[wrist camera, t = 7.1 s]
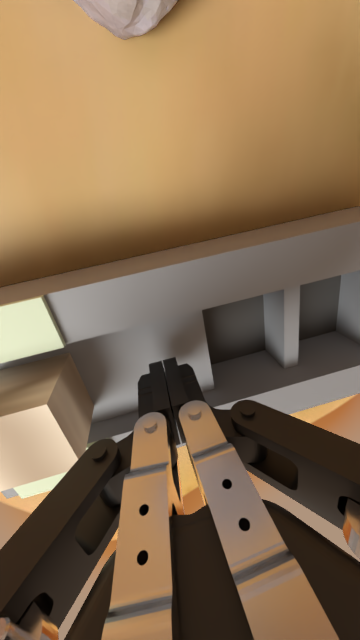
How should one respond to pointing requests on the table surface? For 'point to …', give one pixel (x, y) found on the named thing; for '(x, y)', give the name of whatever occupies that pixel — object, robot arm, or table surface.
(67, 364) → the cube
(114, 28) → the stone block
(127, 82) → the table surface
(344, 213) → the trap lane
